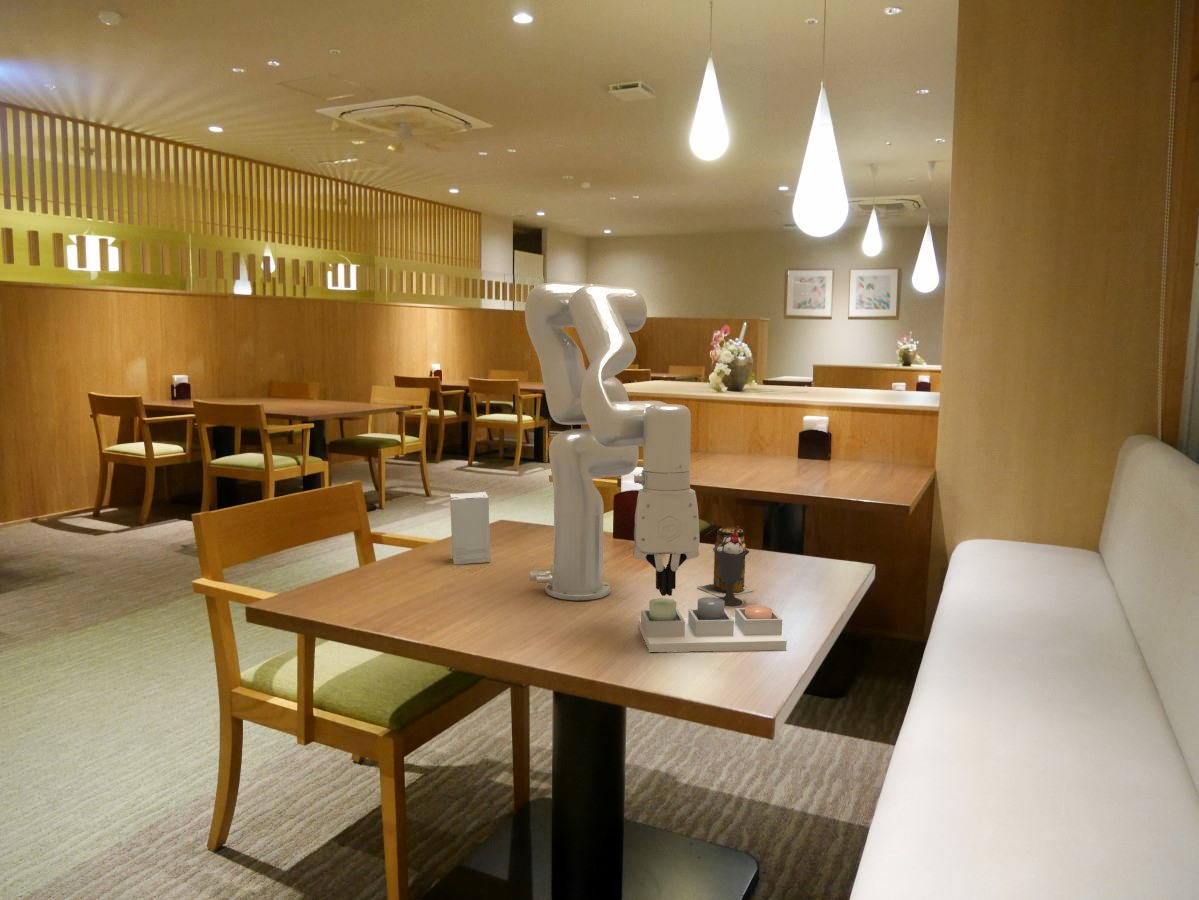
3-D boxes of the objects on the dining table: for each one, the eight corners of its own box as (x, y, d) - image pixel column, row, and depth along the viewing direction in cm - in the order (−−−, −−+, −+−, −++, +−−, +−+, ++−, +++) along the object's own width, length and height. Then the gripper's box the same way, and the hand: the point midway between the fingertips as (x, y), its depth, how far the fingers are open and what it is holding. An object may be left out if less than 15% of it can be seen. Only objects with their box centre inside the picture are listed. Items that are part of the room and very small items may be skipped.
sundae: (739, 609, 157) (742, 529, 155) (705, 603, 160) (708, 524, 158) (753, 600, 162) (756, 522, 160) (720, 594, 166) (722, 518, 164)
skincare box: (488, 556, 192) (487, 491, 190) (490, 563, 186) (490, 496, 184) (450, 558, 190) (449, 492, 188) (451, 565, 184) (450, 497, 182)
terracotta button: (748, 631, 140) (749, 613, 140) (741, 622, 144) (742, 605, 144) (774, 630, 140) (775, 613, 140) (767, 622, 145) (767, 604, 144)
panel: (648, 652, 135) (649, 628, 134) (638, 627, 147) (638, 604, 146) (786, 649, 137) (787, 625, 136) (765, 624, 149) (766, 602, 148)
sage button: (651, 624, 138) (651, 606, 138) (647, 615, 143) (647, 598, 142) (678, 623, 139) (678, 605, 138) (673, 615, 143) (673, 597, 143)
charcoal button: (700, 623, 139) (700, 605, 139) (694, 614, 143) (695, 597, 143) (726, 623, 139) (727, 605, 139) (720, 614, 144) (721, 596, 143)
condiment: (753, 591, 169) (755, 531, 167) (720, 598, 164) (722, 536, 162) (728, 582, 175) (730, 524, 173) (696, 588, 170) (697, 529, 168)
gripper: (622, 485, 133) (622, 601, 135) (717, 484, 134) (716, 598, 136) (617, 478, 140) (617, 588, 142) (707, 477, 142) (705, 586, 144)
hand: (665, 593), depth 139 cm, fingers closed
